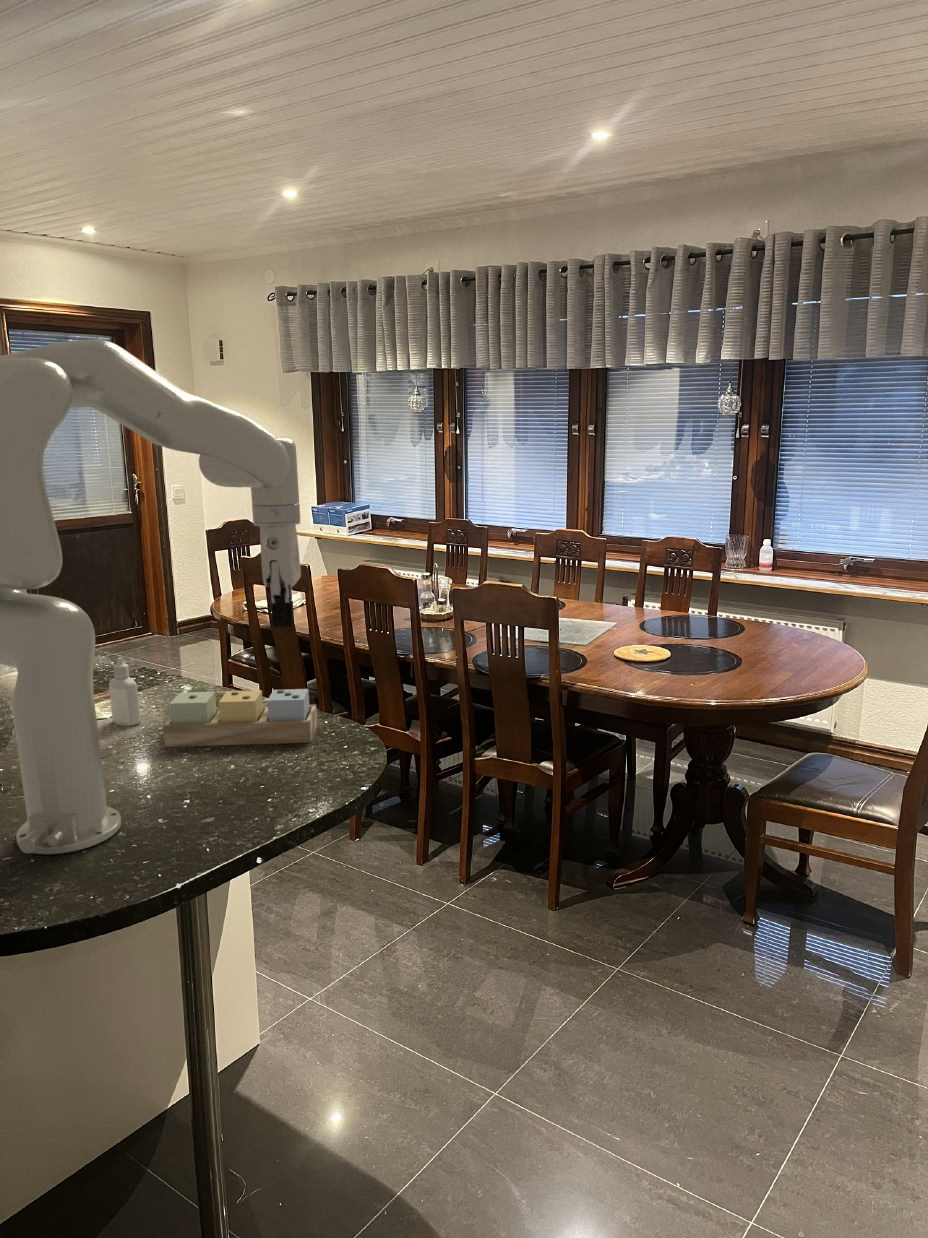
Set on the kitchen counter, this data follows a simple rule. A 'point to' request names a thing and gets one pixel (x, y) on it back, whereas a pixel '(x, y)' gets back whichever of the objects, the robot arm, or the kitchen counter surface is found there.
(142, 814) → the kitchen counter surface
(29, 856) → the kitchen counter surface
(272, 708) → the tile three blue
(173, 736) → the tray
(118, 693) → the eye dropper bottle
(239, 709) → the tile two ochre
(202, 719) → the tile one sage
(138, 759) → the kitchen counter surface
